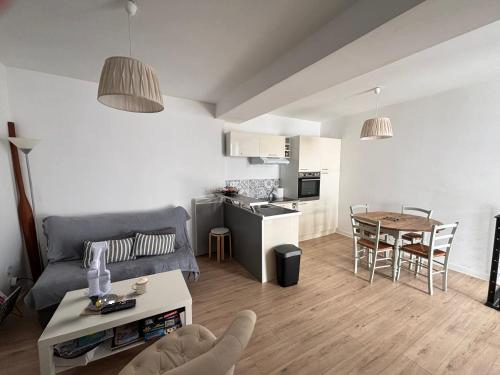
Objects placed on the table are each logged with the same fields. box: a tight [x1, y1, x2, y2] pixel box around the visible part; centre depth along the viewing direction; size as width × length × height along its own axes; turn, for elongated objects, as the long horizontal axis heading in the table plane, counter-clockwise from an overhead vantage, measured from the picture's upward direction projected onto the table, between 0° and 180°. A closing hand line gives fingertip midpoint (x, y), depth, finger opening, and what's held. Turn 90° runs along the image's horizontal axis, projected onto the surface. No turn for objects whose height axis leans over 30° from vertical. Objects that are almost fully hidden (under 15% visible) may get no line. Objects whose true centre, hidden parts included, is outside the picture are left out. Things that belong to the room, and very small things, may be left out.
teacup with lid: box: [131, 277, 149, 295], centre depth 169 cm, size 12×9×12 cm
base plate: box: [79, 294, 126, 317], centre depth 152 cm, size 20×20×1 cm
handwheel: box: [87, 293, 118, 311], centre depth 152 cm, size 18×18×6 cm
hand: (95, 304), depth 145 cm, fingers closed
